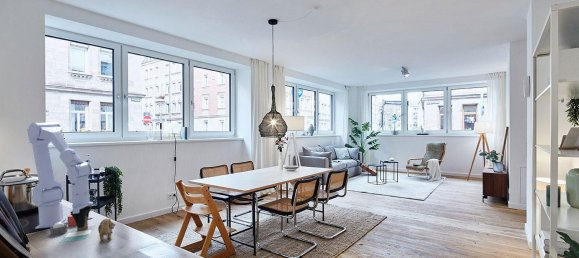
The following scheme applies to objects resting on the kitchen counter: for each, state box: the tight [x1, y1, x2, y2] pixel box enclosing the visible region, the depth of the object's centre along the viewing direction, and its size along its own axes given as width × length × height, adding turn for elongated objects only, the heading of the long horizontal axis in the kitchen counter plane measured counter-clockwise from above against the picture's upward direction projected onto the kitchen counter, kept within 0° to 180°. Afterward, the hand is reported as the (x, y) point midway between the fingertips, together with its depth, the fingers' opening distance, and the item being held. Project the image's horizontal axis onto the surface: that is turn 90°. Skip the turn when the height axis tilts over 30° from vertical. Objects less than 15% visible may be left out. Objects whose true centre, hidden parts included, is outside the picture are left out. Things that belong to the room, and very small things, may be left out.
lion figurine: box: [97, 217, 117, 244], centre depth 114 cm, size 15×5×9 cm, turn 37°
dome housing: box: [49, 223, 68, 237], centre depth 120 cm, size 5×5×3 cm
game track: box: [59, 225, 96, 243], centre depth 119 cm, size 15×8×1 cm, turn 20°
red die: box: [67, 213, 77, 227], centre depth 130 cm, size 4×4×4 cm
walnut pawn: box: [76, 216, 89, 231], centre depth 124 cm, size 4×4×5 cm
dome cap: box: [53, 222, 65, 228], centre depth 120 cm, size 4×4×4 cm
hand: (82, 225), depth 124 cm, fingers closed on walnut pawn, 4 cm apart
